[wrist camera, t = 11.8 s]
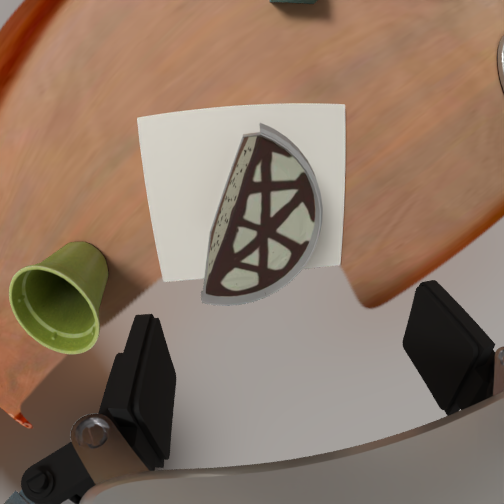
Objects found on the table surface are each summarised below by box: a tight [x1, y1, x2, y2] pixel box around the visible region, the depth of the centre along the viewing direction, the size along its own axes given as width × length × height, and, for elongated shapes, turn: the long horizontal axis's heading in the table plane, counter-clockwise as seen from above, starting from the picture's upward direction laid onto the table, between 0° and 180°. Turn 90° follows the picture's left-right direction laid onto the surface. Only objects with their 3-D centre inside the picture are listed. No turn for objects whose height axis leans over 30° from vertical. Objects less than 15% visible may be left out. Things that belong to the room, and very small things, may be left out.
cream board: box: [137, 104, 345, 282], centre depth 29 cm, size 18×16×1 cm
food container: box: [201, 123, 323, 306], centre depth 24 cm, size 12×6×10 cm, turn 160°
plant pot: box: [9, 242, 108, 354], centre depth 27 cm, size 9×9×9 cm
